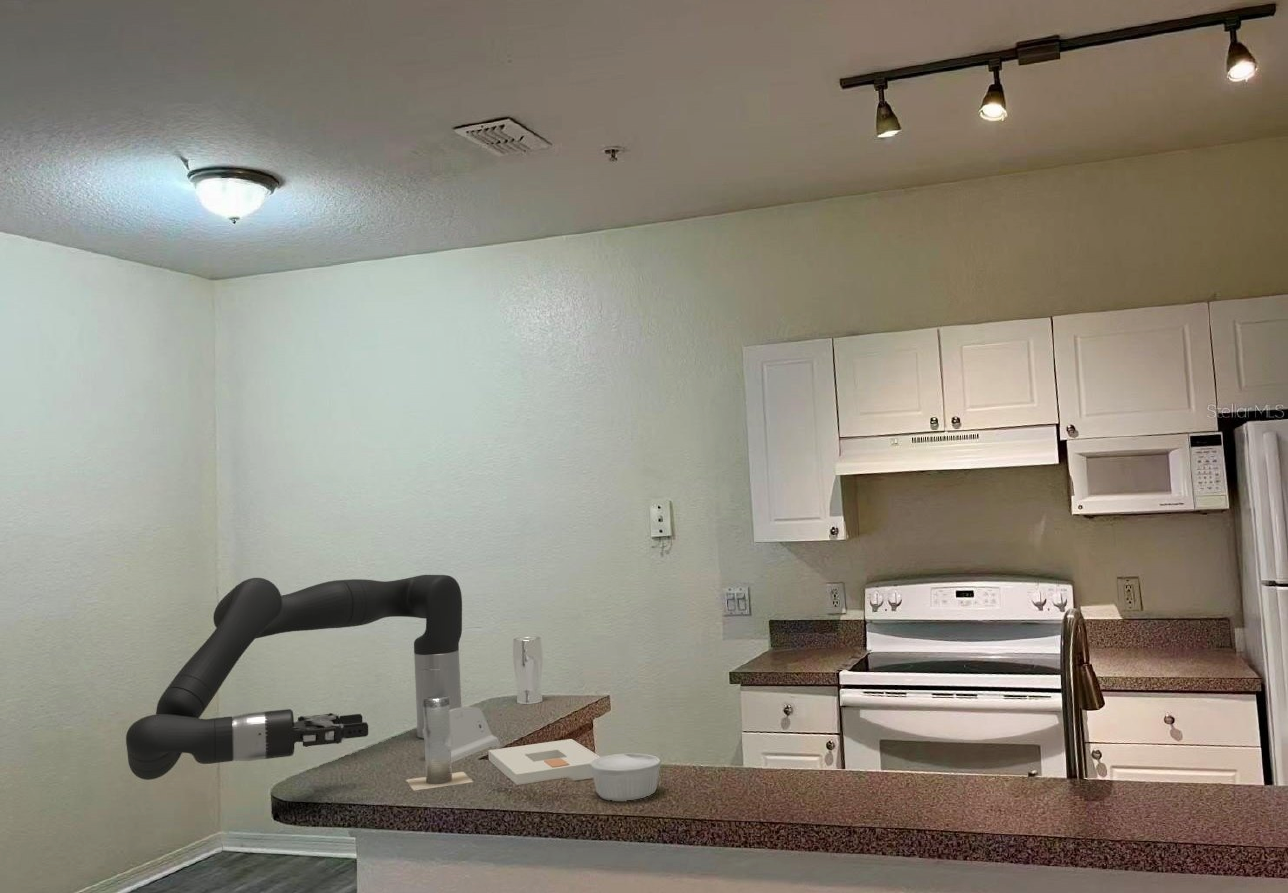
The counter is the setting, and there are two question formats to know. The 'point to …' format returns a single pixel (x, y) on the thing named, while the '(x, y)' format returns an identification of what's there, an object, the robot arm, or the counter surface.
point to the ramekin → (625, 776)
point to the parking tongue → (421, 784)
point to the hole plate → (544, 761)
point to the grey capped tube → (437, 739)
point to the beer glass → (528, 669)
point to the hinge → (469, 732)
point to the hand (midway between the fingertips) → (365, 724)
